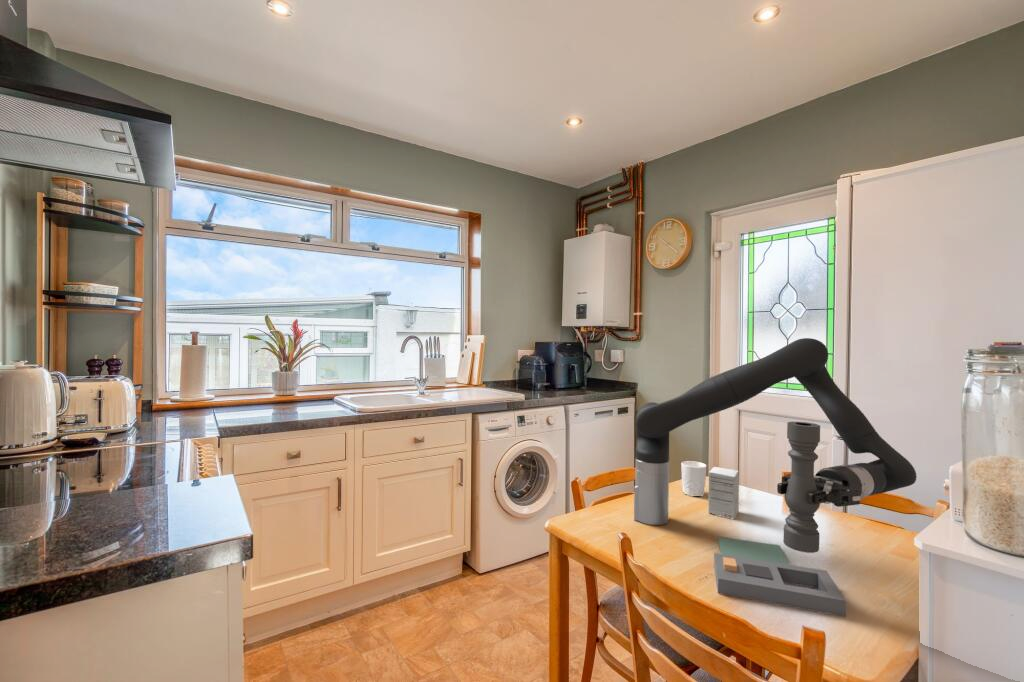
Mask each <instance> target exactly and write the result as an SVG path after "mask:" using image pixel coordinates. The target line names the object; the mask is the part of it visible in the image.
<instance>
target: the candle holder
mask: <svg viewBox="0 0 1024 682" xmlns="http://www.w3.org/2000/svg"><path fill="white" fill-rule="evenodd" d="M786 425H787V426H786V428H787V429H786V438H787V439H788V443H789V445H790V447H791V450H788V452H787V455H788V456H789V457H790V459H791V471H790V474H791V476H790V479H789V483H788V486H787V489H786V493H785V494H784V502H785V504H786V506H787V508H789V509H788V512H789V514H788V515H787V517H785V520H784V521H785V524H784V525H783V545H785V546H787V548H789V549H792V550H794V551H797V552H801V553H806V554H813V553H817V552H819V551H820V531H819V530H818V528H819V524H818V523H817V522H816V520H815V518H814V517H815V515H816V514H815V513H816V512H817V511H818V510H819V508H820V505H821V503H820V504H815V505H811V504H809V503H808V494H809V493H811V492H815V491H817V488H816V484H815V480H814V476H815V462H816V460H818V459H819V455H818V454H817V453H816V452H815V450H816V449H817V447H818V446H819V443H820V442H821V425H820V424H817V423H813V422H806V421H787V423H786Z"/></svg>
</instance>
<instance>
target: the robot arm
mask: <svg viewBox="0 0 1024 682" xmlns="http://www.w3.org/2000/svg"><path fill="white" fill-rule="evenodd" d="M828 360H829V350H828V347H827V346H826V345H825V344H824V343H823V342H822V341H821V340H818V339H816V338H810V337H809V338H807V337H803V338H798V339H795V340H794V341H792V342H790V343H788V344H787V345H785V346H783V347H782V348H780V349H777V350H775V351H774V352H772V353H770V354H768V355H766V356H764V357H762V358H759V359H756V360H754V361H753V360H752V361H751V362H748V363H744V364H741V365H739V366H736V367H733V368H731V369H729V370H726V371H723V372H721V373H719V374H716V375H714V376H711V377H709V378H708V379H705V380H703V381H701V382H700V383H698V384H696V385H695V386H693V387H692V388H690V389H688V390H686V392H684V393H682V394H680V395H679V396H677V397H674V398H671V399H669V400H666V401H663V402H660V403H657V402H647V403H644V404H643V405H642V406H641V407H639V409H638V410H637V413H636V416H635V426H636V429H635V430H636V432H635V433H636V436H635V437H636V438H635V439H636V440H635V472H634V473H635V477H634V478H635V479H634V481H635V482H634V484H635V485H634V489H633V490H634V491H633V492H634V494H633V495H634V496H633V497H634V498H633V501H634V502H633V505H634V507H633V521H636V522H640V523H643V524H646V525H653V526H662V525H665V524H667V523H669V495H670V494H669V493H670V491H669V489H670V488H669V485H670V484H669V483H670V481H669V480H670V432H672V431H673V430H675V429H678V428H679V427H681V426H683V425H685V424H687V423H690V422H692V421H694V420H698V419H701V418H704V417H707V416H711V415H713V414H716V413H720V412H722V411H726V410H728V409H730V408H732V407H735V406H738V405H740V404H742V403H744V402H746V401H749V400H750V399H752V398H755V397H756V396H757V395H759V394H761V393H763V391H766V390H767V389H769V388H770V387H772V386H774V385H777V384H779V383H781V382H783V381H786V380H789V379H792V378H795V379H796V380H797V381H798V382H799V383H800V384H801V385H802V386H803V387H804V389H805V390H806V391H807V392H808V393H809V394H810V396H811V397H812V398H813V399H814V401H815V402H816V403H817V405H818V406H819V407H820V408H821V410H822V412H823V413H824V415H825V416H826V417H827V419H828V421H829V422H830V423H831V424H832V427H833V428H834V429H835V431H836V432H837V434H838V435H839V436H840V438H841V439H842V441H843V442H844V443H845V445H846V446H847V448H848V450H850V452H852V454H855V455H856V454H857V455H858V454H866V453H867V454H872V455H873V456H875V457H876V458H878V459H876V460H872V461H869V462H859V463H858V462H857V463H853V464H840V465H835V466H834V465H833V466H829V467H824V468H821V469H820V470H819V471H817V472H816V474H814V480H815V484H816V488H817V491H815V492H811V493H809V494H808V503H809V504H811V505H815V504H820V505H821V504H824V505H825V504H826V505H830V504H832V505H834V506H836V507H847V506H857V505H861V500H862V499H864V498H867V497H870V496H871V497H872V496H874V495H879V494H884V493H888V492H892V491H894V490H899V489H902V488H907V487H909V486H912V485H914V484H915V483H916V481H917V472H916V469H915V467H914V466H913V465H912V463H911V462H910V461H909V460H908V458H906V457H904V455H902V454H901V453H900V452H899V451H897V450H896V449H895V448H893V447H892V446H891V445H890V443H888V442H887V441H886V440H884V438H882V436H881V435H880V434H879V433H878V432H877V431H876V429H875V428H874V426H873V424H872V423H871V422H870V420H869V419H868V418H867V416H866V415H865V414H864V413H863V411H862V410H860V408H859V407H858V406H857V405H856V404H855V403H854V402H853V401H852V400H851V399H850V398H849V397H848V396H847V395H846V394H845V393H844V392H843V391H842V390H841V389H840V388H839V386H838V385H837V384H836V383H835V381H834V379H833V377H831V374H830V373H829V371H828V368H826V367H827V366H826V365H827V362H828ZM790 476H791V473H788V474H785V475H783V476H781V482H778V483H777V485H776V486H777V493H778V494H779V495H785V493H786V489H787V486H788V483H789V479H790Z"/></svg>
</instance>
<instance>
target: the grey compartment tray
mask: <svg viewBox="0 0 1024 682" xmlns="http://www.w3.org/2000/svg"><path fill="white" fill-rule="evenodd" d="M713 568H714V575H715V583H716V587H717V588H716V589H717V593H718V594H721V595H727V596H732V597H737V598H742V599H748V600H753V601H759V602H763V603H764V602H765V603H769V604H775V605H780V606H786V607H791V608H798V609H802V610H808V611H814V612H819V613H825V614H829V615H835V616H839V617H845V618H846V617H847V599H846V598H845V597H844V595H843V593H842V592H841V591H840V589H839V587H838V586H837V584H836V582H834V579H833V578H832V576H831V574H829V572H828V570H826V569H825V570H824V569H819V568H812V567H806V566H801V565H800V566H799V565H794V564H789V565H788V564H782V563H776V562H769V561H763V560H757V559H750V558H744V557H738V556H731V555H725V554H721V553H718V552H713ZM786 583H787V584H788V585H787V584H786ZM789 584H790V585H789ZM791 584H792V585H791ZM793 585H794V586H793ZM795 585H798V586H795ZM800 586H802V587H800ZM803 586H804V587H803ZM805 587H806V588H805ZM807 587H809V588H807ZM811 588H815V589H811ZM816 588H817V589H816Z"/></svg>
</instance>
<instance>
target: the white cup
mask: <svg viewBox="0 0 1024 682" xmlns="http://www.w3.org/2000/svg"><path fill="white" fill-rule="evenodd" d="M680 465H681V466H680V467H681V470H680V471H681V486H682V493H683V492H684V493H685V494H688V495H693V496H702V495H704V496H705V487H706V478H707V464H706V463H703V462H700V461H695V460H694V461H692V460H684V461H681V464H680ZM684 493H683V494H684ZM685 494H684V495H685ZM688 495H687V496H688ZM702 497H703V496H702Z"/></svg>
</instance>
